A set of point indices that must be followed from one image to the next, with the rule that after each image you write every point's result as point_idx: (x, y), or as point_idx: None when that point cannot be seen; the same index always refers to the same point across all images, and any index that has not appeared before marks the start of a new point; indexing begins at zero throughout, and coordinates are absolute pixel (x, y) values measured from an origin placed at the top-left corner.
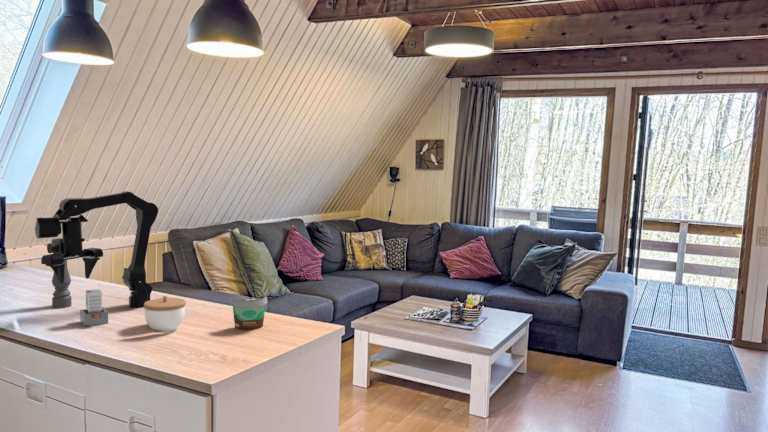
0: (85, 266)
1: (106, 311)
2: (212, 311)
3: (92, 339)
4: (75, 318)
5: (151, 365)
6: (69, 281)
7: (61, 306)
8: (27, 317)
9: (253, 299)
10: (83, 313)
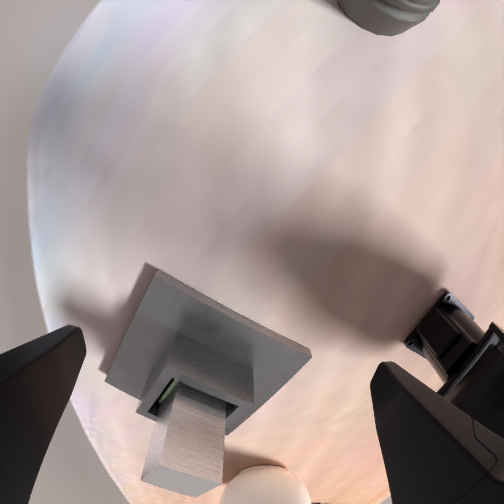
0: (452, 461)
1: None
2: None
3: (123, 423)
4: (238, 229)
5: (128, 495)
6: None
7: (353, 16)
8: (153, 24)
9: None
10: (143, 403)
